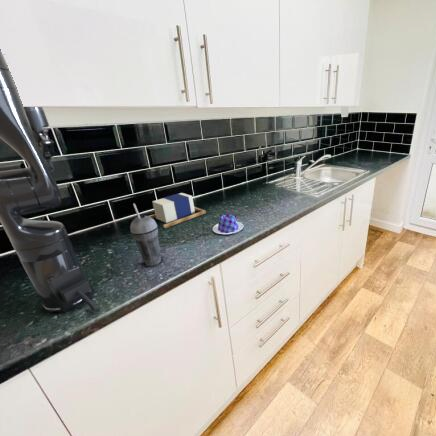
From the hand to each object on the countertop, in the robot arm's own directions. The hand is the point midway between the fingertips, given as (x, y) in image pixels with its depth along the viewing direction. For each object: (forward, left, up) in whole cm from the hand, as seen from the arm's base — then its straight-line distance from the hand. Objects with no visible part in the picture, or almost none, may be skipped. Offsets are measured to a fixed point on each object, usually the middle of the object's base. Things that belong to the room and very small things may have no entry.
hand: (49, 171), depth 77 cm
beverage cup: (-30, -6, -27) cm, 41 cm away
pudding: (-36, -35, -27) cm, 57 cm away
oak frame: (-7, -35, -27) cm, 44 cm away
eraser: (-6, -35, -27) cm, 45 cm away
